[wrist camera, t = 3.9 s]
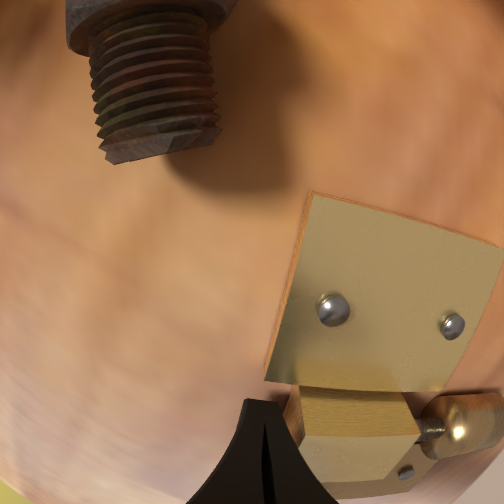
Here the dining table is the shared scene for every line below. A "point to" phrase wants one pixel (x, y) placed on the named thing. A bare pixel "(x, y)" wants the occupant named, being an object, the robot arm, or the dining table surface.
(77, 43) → the bolt
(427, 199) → the dining table surface
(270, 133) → the dining table surface
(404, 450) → the loose leaf
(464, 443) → the fixed leaf
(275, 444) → the robot arm
